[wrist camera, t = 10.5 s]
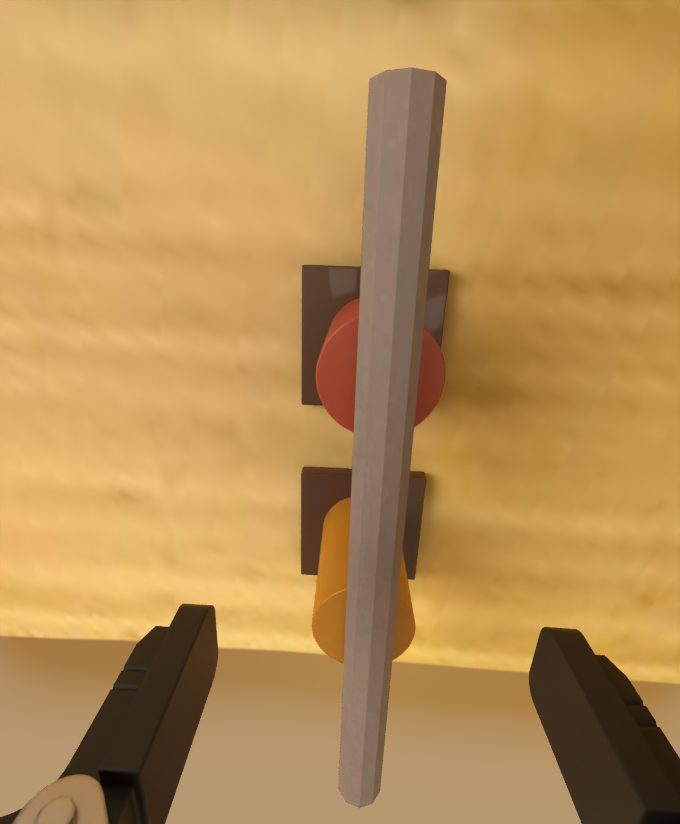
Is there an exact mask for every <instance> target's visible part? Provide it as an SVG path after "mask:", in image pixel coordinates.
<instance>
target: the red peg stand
mask: <svg viewBox="0 0 680 824" xmlns="http://www.w3.org/2000/svg"><path fill="white" fill-rule="evenodd" d="M449 273H450V272H449V270H436V269H429V274H428V284H427V295H426V305H425V316H424V327H423V337H422V348H421V359H420V369H419V380H418V391H417V401H416V412H415V423H414V427H415V426H417V425H418V424H420V423H421V422H422V421H423V420H424V419H425V418H426V417H428V415H429V414H430V413H431V412H432V411H433V410H434V408H435V406H436V405H437V403H438V401H439V399H440V397H441V394H442V391H443V387H444V382H445V363H444V359H443V355H442V352H441V344H442V335H443V326H444V317H445V308H446V299H447V290H448V282H449ZM360 279H361V267H351V266H323V265H303V266H302V404H303V405H323V406H324V407H325V409H326V410H327V412H328V413H329V414H330V415H331V417H332V418H333V419H334V420H335V421H337V422H338V423H339V424H340V425H342V426H343V427H345V428H346V429H348V430H350V431H352V432H354V416H355V393H356V370H357V348H358V325H359V302H360Z"/></svg>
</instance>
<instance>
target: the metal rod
mask: <svg viewBox="0 0 680 824" xmlns="http://www.w3.org/2000/svg"><path fill="white" fill-rule="evenodd" d="M446 82H447V81H446V80H445V79H444V78H443V77H441V76H440V75H439V74H438V73H437V72H434V71H428V70H423V69H417V68H404V69H395V70H386V71H384V72H382V73H380V74H378V75H376V76H374V77H372V78H370V81H369V95H368V118H367V141H366V164H365V187H364V210H363V233H362V256H361V279H360V302H359V325H358V348H357V370H356V393H355V416H354V439H353V462H352V485H351V508H350V531H349V554H348V577H347V600H346V623H345V646H344V669H343V693H342V716H341V738H340V739H341V740H340V760H339V790H340V792H341V794H342V795H343V797H344V799H345V801H346V802H347V803H349V804H352V805H354V806H356V807H359V808H361V807H364V806H367V805H370V804H372V803H373V802H374V800H375V798H376V797H377V795H378V793H379V791H380V784H381V773H382V763H383V752H384V741H385V730H386V720H387V710H388V699H389V688H390V678H391V667H392V657H393V646H394V635H395V625H396V614H397V603H398V593H399V582H400V572H401V561H402V550H403V540H404V529H405V518H406V508H407V497H408V486H409V476H410V465H411V454H412V444H413V433H414V423H415V412H416V401H417V391H418V380H419V369H420V359H421V348H422V337H423V327H424V316H425V305H426V295H427V284H428V274H429V263H430V252H431V242H432V231H433V220H434V210H435V199H436V188H437V178H438V167H439V156H440V146H441V135H442V125H443V114H444V103H445V93H446Z"/></svg>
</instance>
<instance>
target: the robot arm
mask: <svg viewBox="0 0 680 824" xmlns="http://www.w3.org/2000/svg"><path fill="white" fill-rule="evenodd" d="M217 659H218V644H217V631H216V617H215V608H214V606H212V605H196V604H182V605H181V606H180V607H179V609H178V611H177V613H176V615H175V617H174V619H173V621H172V623H171V625H170V627H162V626H155V627H154V628H153V629H152V630H151V631H150V632H149V633H148V634H147V635H146V636H145V637H144V638H143V639H142V640H141V641H140V642H139V643H137V645H136V646H135V648H134V650H133V652H132V653H131V655H130V657H129V659H128V661H127V662H126V664H125V666H124V670H123V671H121V673H120V675H119V676H118V678H117V680H116V682H115V683H114V687H113V689H112V690H110V692H109V694H108V696H107V698H106V699H105V701H104V703H103V705H102V706H101V708H100V710H99V712H98V714H97V715H96V717H95V719H94V720H93V722H92V724H91V726H90V728H89V729H88V731H87V733H86V735H85V736H84V738H83V740H82V742H81V744H80V745H79V747H78V749H77V751H76V752H75V754H74V756H73V758H72V759H71V761H70V763H69V765H68V766H67V768H66V769H65V771H64V772H63V773H62V775H61V776H60V777H59V779H58V780H57V781H55V782H53V783H51V784H50V785H48V786H46V787H45V788H44V789H42V790H41V791H40V792H38V793H37V794H36V795H35V796H34V797H33V798H32V799H31V800H30V801H29V802H28V803H27V804H26V805H25V806H24V807H23V808H22V809H20V810H18V811H16V812H14V813H11V814H9V815H6V816H3V817H0V824H165V822H166V819H167V816H168V813H169V810H170V807H171V804H172V801H173V798H174V795H175V792H176V789H177V786H178V783H179V780H180V777H181V774H182V772H183V769H184V765H185V763H186V759H187V757H188V754H189V751H190V748H191V745H192V741H193V739H194V735H195V733H196V730H197V727H198V724H199V721H200V718H201V715H202V712H203V709H204V705H205V703H206V700H207V697H208V694H209V691H210V688H211V685H212V682H213V679H214V676H215V671H216V667H217ZM529 685H530V692H531V696H532V700H533V703H534V705H535V708H536V710H537V713H538V715H539V718H540V720H541V723H542V725H543V728H544V730H545V733H546V735H547V738H548V740H549V743H550V745H551V748H552V750H553V753H554V755H555V758H556V760H557V763H558V765H559V768H560V770H561V773H562V775H563V778H564V780H565V783H566V785H567V788H568V790H569V793H570V795H571V798H572V800H573V803H574V805H575V808H576V810H577V813H578V815H579V818H580V820H581V823H582V824H680V758H679V757H678V755H677V754H676V752H675V750H674V749H673V747H672V746H671V744H670V743H669V741H668V740H667V738H666V736H665V735H664V733H663V732H662V730H661V729H660V727H657V725H656V721H655V719H654V718H653V716H652V715H651V713H650V712H649V710H648V709H647V707H646V706H643V701H642V700H641V698H640V696H639V695H638V693H637V692H636V690H635V688H634V687H633V685H632V684H631V682H630V681H629V679H628V678H627V676H626V675H625V674H624V673H622V672H621V671H620V670H619V669H618V668H617V667H616V666H615V665H614V664H613V663H612V662H611V661H610V660H609V659H608V658H607V657H606V656H605V655H595V654H594V652H593V651H592V649H591V647H590V646H589V644H588V642H587V641H586V639H585V637H584V636H583V634H582V633H581V632H580V631H579V630H577V629H567V628H551V627H544V628H542V630H541V632H540V635H539V639H538V642H537V646H536V650H535V653H534V657H533V661H532V664H531V668H530V672H529Z"/></svg>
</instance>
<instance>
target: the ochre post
mask: <svg viewBox="0 0 680 824" xmlns="http://www.w3.org/2000/svg"><path fill="white" fill-rule="evenodd" d="M351 485H352V469H338V468H315V467H303V469H302V473H301V574H306V575H318V576H317V585H316V594H315V602H314V611H313V620H312V631H313V635H314V638H315V640H316V642H317V644H318V645H319V647H320V648H321V649H322V650H323V651H324V652H325V653H326V654H327V655H328V656H330V657H331V658H333V659H335V660H336V661H339V662H341V663H344V646H345V623H346V600H347V577H348V554H349V531H350V508H351ZM425 485H426V477H425V474H424V472H410V476H409V486H408V497H407V508H406V518H405V529H404V540H403V550H402V561H401V572H400V582H399V593H398V603H397V614H396V625H395V635H394V646H393V657H392V660H394V659H395V658H397V657H398V656H400V655H401V654H402V653H403V652H404V651H405V650H406V649H407V648H408V647H409V645H410V644H411V642H412V640H413V637H414V633H415V619H414V614H413V608H412V602H411V596H410V590H409V585H408V579H411V580H414V579H415V573H416V565H417V556H418V547H419V538H420V529H421V520H422V512H423V503H424V494H425Z"/></svg>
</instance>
